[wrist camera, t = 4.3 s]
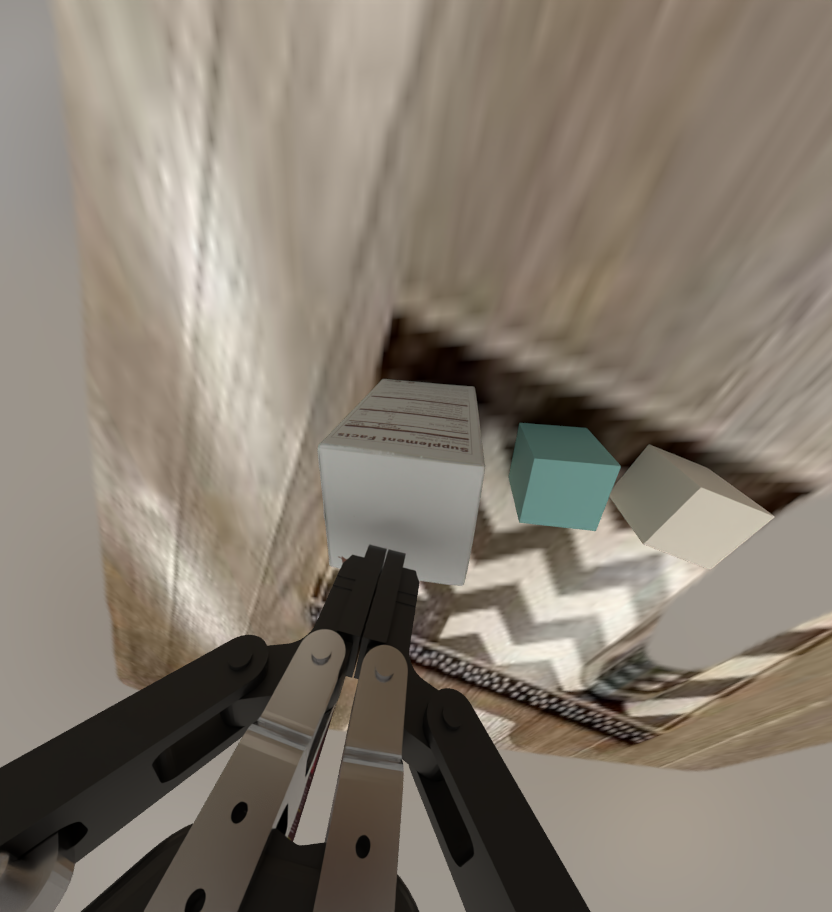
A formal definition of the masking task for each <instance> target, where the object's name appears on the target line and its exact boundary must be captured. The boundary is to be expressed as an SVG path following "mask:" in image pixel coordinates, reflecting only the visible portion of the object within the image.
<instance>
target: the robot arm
mask: <svg viewBox="0 0 832 912" xmlns="http://www.w3.org/2000/svg"><path fill="white" fill-rule="evenodd" d="M386 552H387V549H386V548H382V547H378V546H374V545H370V544H369V546H368V549H367V551H366V554H365V557H360V556H357V555H353V554H352V555H351V556H350V557H349V558H348V559H347V560H346V561H345V562H344V563H343V564H342V566H341V568H340V571H339V573H338V575H337V577H336V580H335V582H334V584H333V587H332V589H331V591H330V593H329V595H328V598H327V600H326V602H325V604H324V607H323V609H322V611H321V613H320V616H319V618H318V620H317V622H316V624H315V626H314V628H313V629H312V631H311V632H310V633H309V634H308V635H306V636H305V637H304V638H302V639H301V640H299V641H296V642H293V643H289V644H281V645H270V646H267V645H266V643H265V641H264V640H263V639H262V638H260V637H258V636H255V635H243V636H239V637H236V638H234V639H232V640H230V641H229V642H227V643H225V644H223V645H221V646H219V647H218V648H216V649H214V650H212V651H210V652H209V653H207V654H205V655H203V656H201V657H200V658H198V659H196V660H194V661H192V662H191V663H189V664H187V665H185V666H183V667H182V668H180V669H178V670H176V671H174V672H172V673H171V674H169V675H167V676H165V677H163V678H162V679H160V680H158V681H156V682H154V683H153V684H151V685H149V686H147V687H145V688H144V689H142V690H140V691H138V692H136V693H135V694H133V695H131V696H129V697H127V698H126V699H124V700H122V701H120V702H118V703H117V704H115V705H113V706H111V707H109V708H108V709H106V710H104V711H102V712H100V713H98V714H97V715H95V716H93V717H91V718H89V719H88V720H86V721H84V722H82V723H80V724H79V725H77V726H75V727H73V728H71V729H70V730H68V731H66V732H64V733H62V734H61V735H59V736H57V737H55V738H53V739H51V740H50V741H48V742H46V743H44V744H42V745H41V746H39V747H37V748H35V749H33V750H32V751H30V752H28V753H26V754H24V755H22V756H21V757H19V758H17V759H15V760H13V761H12V762H10V763H8V764H6V765H5V766H3V767H1V768H0V912H53V911H54V910H55V909H56V907H57V905H58V904H59V903H60V901H61V899H62V897H63V896H64V893H65V892H66V890H67V888H68V885H69V883H70V881H71V878H72V875H73V871H74V866H75V863H76V862H78V861H79V860H80V859H82V858H83V857H84V856H85V855H87V854H88V853H90V852H91V851H92V850H94V849H95V848H96V847H97V846H99V845H100V844H101V843H103V842H104V841H105V840H107V839H108V838H109V837H111V836H112V835H113V834H115V833H116V832H117V831H119V830H120V829H121V828H123V827H124V826H125V825H126V824H128V823H129V822H130V821H132V820H133V819H134V818H136V817H137V816H138V815H140V814H141V813H142V812H144V811H145V810H146V809H147V808H149V807H150V806H151V805H153V804H154V803H155V802H157V801H158V800H159V799H161V798H162V797H163V796H165V795H166V794H167V793H169V792H170V791H171V790H173V789H174V788H175V787H176V786H178V785H179V784H180V783H182V782H183V781H184V780H185V779H187V778H188V777H190V776H191V775H192V774H194V773H195V772H196V771H198V770H199V769H200V768H202V767H203V766H204V765H206V764H207V763H208V762H209V761H211V760H212V759H213V758H215V757H216V756H217V755H219V754H220V753H221V752H223V751H224V750H225V749H227V748H228V747H229V746H231V745H232V744H233V743H234V742H236V741H237V740H238V739H240V738H241V737H242V736H243V737H242V738H241V740H240V742H239V743H238V745H237V747H236V749H235V751H234V752H233V754H232V756H231V758H230V760H229V761H228V763H227V765H226V767H225V768H224V770H223V772H222V774H221V775H220V777H219V779H218V781H217V782H216V784H215V786H214V788H213V790H212V791H211V793H210V795H209V797H208V798H207V800H206V802H205V804H204V806H203V807H202V809H201V811H200V813H199V814H198V816H197V818H196V820H195V821H194V823H193V824H191V825H188V826H186V827H184V828H182V829H181V830H179V831H177V832H175V833H174V834H172V835H171V836H169V837H168V838H166V839H165V840H164V841H162V842H161V843H159V844H158V845H157V846H156V847H154V848H153V849H152V850H151V851H150V852H149V853H147V854H146V855H145V856H144V857H143V858H142V859H140V860H139V861H138V862H137V863H136V864H135V865H134V866H133V867H132V868H130V869H129V870H128V871H127V872H126V873H124V874H123V875H122V876H121V877H120V878H119V879H118V880H116V881H115V882H114V883H113V884H112V885H111V886H110V887H108V888H107V889H106V890H105V891H104V892H103V893H102V894H100V895H99V896H98V897H97V898H96V899H95V900H94V901H92V902H91V903H90V904H89V905H88V906H87V907H86V908H84V909H83V910H82V911H81V912H419V910H418V907H417V905H416V903H415V901H414V899H413V898H412V896H411V893H410V891H409V890H408V888H407V887H406V885H405V884H404V882H403V881H402V879H401V878H400V877H399V876H398V875H397V867H398V852H399V838H400V823H401V808H402V794H403V775H404V773H403V772H404V771H403V762H402V759H403V760H404V761H405V762H407V763H408V764H409V768H410V770H411V773H412V776H413V779H414V781H415V784H416V786H417V788H418V791H419V794H420V796H421V799H422V801H423V804H424V806H425V809H426V811H427V814H428V816H429V819H430V821H431V824H432V827H433V829H434V832H435V834H436V837H437V839H438V842H439V844H440V847H441V849H442V852H443V854H444V857H445V859H446V862H447V864H448V867H449V870H450V872H451V875H452V877H453V880H454V882H455V885H456V887H457V890H458V892H459V895H460V897H461V900H462V902H463V905H464V908H465V910H466V912H590V910H589V908H588V907H587V905H586V903H585V901H584V900H583V898H582V896H581V894H580V893H579V891H578V889H577V887H576V886H575V884H574V882H573V880H572V879H571V877H570V875H569V873H568V872H567V870H566V868H565V866H564V865H563V863H562V861H561V860H560V858H559V856H558V854H557V853H556V851H555V849H554V847H553V846H552V844H551V842H550V840H549V839H548V837H547V835H546V834H545V832H544V830H543V828H542V827H541V825H540V823H539V822H538V820H537V818H536V817H535V815H534V813H533V811H532V809H531V808H530V806H529V804H528V802H527V801H526V799H525V797H524V795H523V794H522V792H521V790H520V789H519V787H518V785H517V783H516V782H515V780H514V778H513V777H512V775H511V773H510V771H509V770H508V768H507V766H506V764H505V763H504V761H503V759H502V757H501V756H500V754H499V752H498V750H497V749H496V747H495V745H494V743H493V742H492V740H491V738H490V737H489V735H488V733H487V731H486V730H485V728H484V726H483V724H482V723H481V721H480V719H479V718H478V716H477V714H476V712H475V711H474V709H473V707H472V705H471V704H470V702H469V701H468V699H467V698H466V697H465V696H464V695H463V694H462V693H460V692H458V691H457V690H454V689H450V688H445V689H441V690H437V689H436V688H434V687H433V686H431V685H430V684H429V683H427V682H426V681H424V680H423V679H422V678H421V677H420V676H419V675H418V674H417V673H416V672H415V670H414V668H413V666H412V664H411V661H410V657H409V648H410V641H411V634H412V628H413V621H414V615H415V607H416V602H417V595H418V588H419V580H418V577H417V573H416V571H415V570H411V569H407V568H404V567H403V565H404V561H405V556H406V553H402V552H398V551H394V550H390V549H388V552H387V556H386ZM385 556H386V559H385ZM384 560H385V562H384ZM383 565H384V566H383ZM358 655H359V657H358ZM357 659H358V662H357ZM356 662H357V666H356V671H355V676H354V678H356V679H358V684H357V688H356V693H355V697H354V701H353V706H352V710H351V715H350V720H349V725H348V730H347V735H346V740H345V745H344V750H343V755H342V760H341V765H340V770H339V775H338V780H337V785H336V789H335V795H334V800H333V804H332V809H331V813H330V818H329V823H328V828H327V833H326V838H325V843H318V844H310V845H297V844H295V843H294V842H293V841H291V840H290V839H289V838H288V835H289V832H290V830H291V827H292V824H293V822H294V819H295V816H296V813H297V811H298V808H299V805H300V802H301V799H302V796H303V792H304V789H305V786H306V783H307V780H308V777H309V774H310V771H311V769H312V766H313V763H314V761H315V758H316V755H317V753H318V750H319V747H320V745H321V742H322V740H323V737H324V734H325V732H326V729H327V726H328V724H329V721H330V718H331V716H332V713H333V711H334V708H335V705H336V702H337V700H338V698H339V696H340V693H341V690H342V686H343V683H344V680H345V676H348V677H352V676H353V672H354V669H355V665H356Z"/></svg>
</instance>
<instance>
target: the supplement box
mask: <svg viewBox="0 0 832 912" xmlns="http://www.w3.org/2000/svg"><path fill="white" fill-rule="evenodd" d="M318 459H319V468H320V476H321V486H322V496H323V506H324V519H325V524H326V534H327V543H328V553H329V565H330V566H331V567H336V568H341V566H342V564H343V563H344V562H345V561H346V560H347V559H348V558H349V557H350V556H351V555H352V554H353V555H357V556H360V557H365V554H366V551H367V549H368V546H369V544H370V545H374V546H378V547H382V548H386V549H387V552H388V549H390V550H394V551H398V552H402V553H406V556H405V561H404V565H403V567H404V568H407V569H411V570H415V571H416V573H417V577H418V580H420V581H427V582H434V583H440V584H447V585H458V586H462V585H464V582H465V578H466V574H467V569H468V564H469V559H470V553H471V548H472V543H473V538H474V532H475V526H476V520H477V514H478V508H479V503H480V497H481V492H482V485H483V479H484V472H485V464H484V456H483V448H482V440H481V431H480V421H479V414H478V406H477V399H476V393H475V387H473V386H458V385H447V384H435V383H425V382H414V381H403V380H391V379H382V380H381V381H380V382H379V383H378V384H377V385H376V386H375V387H374V388H373V390H372V391H371V392H370V393H369V394H368V395H367V396H366V397H365V398H364V399H363V400H362V401H361V402H360V403H359V404H358V405H357V406H356V407H355V408H354V409H353V410H352V411H351V412H350V413H349V414H348V415H347V416H346V417H345V418H344V420H343V421H342V422H341V423H340V424H339V425H338V426H337V427H336V428H335V429H334V430H333V431H332V432H331V433H330V434H329V435H328V436H327V437H326V438H325V439H324V440H323V441H322V442H321V443H320V444H319V445H318ZM387 552H386V556H387ZM386 556H385V559H386ZM384 562H385V560H384ZM383 566H384V565H383Z"/></svg>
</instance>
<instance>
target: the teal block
mask: <svg viewBox="0 0 832 912" xmlns="http://www.w3.org/2000/svg"><path fill="white" fill-rule="evenodd" d="M620 467H621V466H620V465H619V463H618V462H617V461H616V460H615V459H614V458H613V457H612V456H611V454H610V453H609V452H608V451H607V450H606V449H605V448H604V447H603V446H602V444H601V443H600V442H599V441H598V440H597V439H596V438H595V437H594V436H593V434H592V433H591V432H590V431H589V430H588V429H587V428H580V427H567V426H554V425H541V424H529V423H519V428H518V433H517V438H516V443H515V448H514V453H513V458H512V463H511V468H510V473H509V481H510V486H511V490H512V494H513V498H514V502H515V507H516V511H517V515H518V519H519V523H528V524H537V525H546V526H555V527H564V528H573V529H582V530H591V531H596V529H597V527H598V524H599V521H600V519H601V516H602V514H603V511H604V509H605V506H606V503H607V501H608V498H609V496H610V493H611V491H612V488H613V485H614V483H615V480H616V478H617V475H618V473H619V470H620Z"/></svg>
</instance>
